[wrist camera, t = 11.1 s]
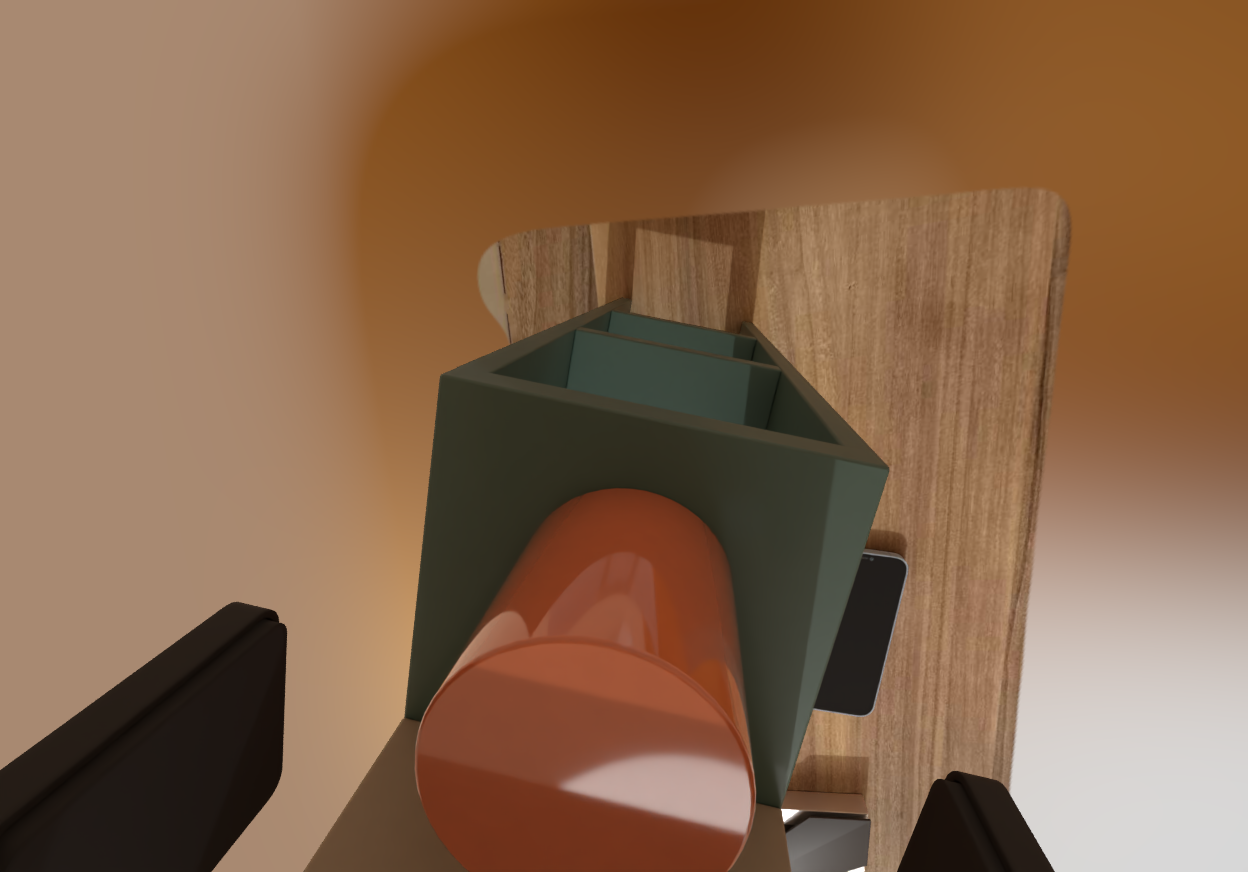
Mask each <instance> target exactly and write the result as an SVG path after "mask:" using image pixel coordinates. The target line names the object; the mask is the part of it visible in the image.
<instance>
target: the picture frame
mask: <svg viewBox="0 0 1248 872" xmlns="http://www.w3.org/2000/svg"><path fill="white" fill-rule="evenodd" d="M781 810H782V814H783V820H784V827H785V833H786V840H787V846H788V853H789V859H790V866H791V872H864V871H865V866H867V860H868V848H869V836H870V824H871V820H870V819H868V811H867V807H866V804H865V801H864V798H863V795H860V794H841V793H822V792H804V791H787V792H786V795H785V798H784V801H783V804H782V807H781Z"/></svg>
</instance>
